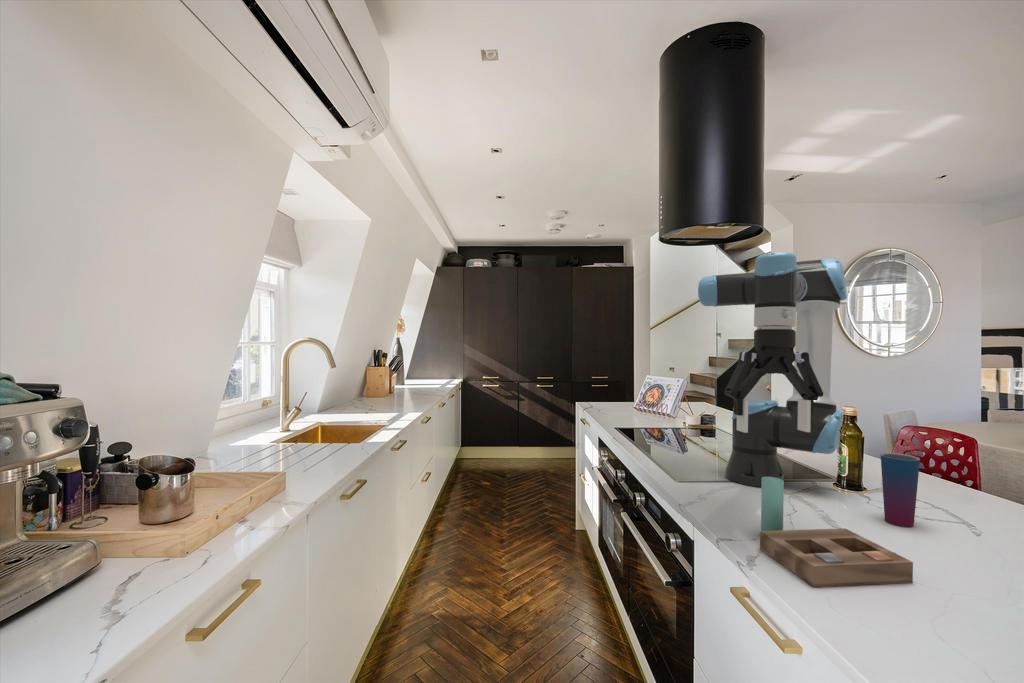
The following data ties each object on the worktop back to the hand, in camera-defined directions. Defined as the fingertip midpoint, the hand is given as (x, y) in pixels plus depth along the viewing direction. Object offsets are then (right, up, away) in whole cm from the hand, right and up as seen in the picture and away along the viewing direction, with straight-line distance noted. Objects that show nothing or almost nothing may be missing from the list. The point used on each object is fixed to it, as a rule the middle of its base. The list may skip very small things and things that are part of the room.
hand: (773, 431), depth 95 cm
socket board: (+4, -22, -11) cm, 25 cm away
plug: (0, -22, 0) cm, 22 cm away
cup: (+33, -23, +9) cm, 41 cm away
